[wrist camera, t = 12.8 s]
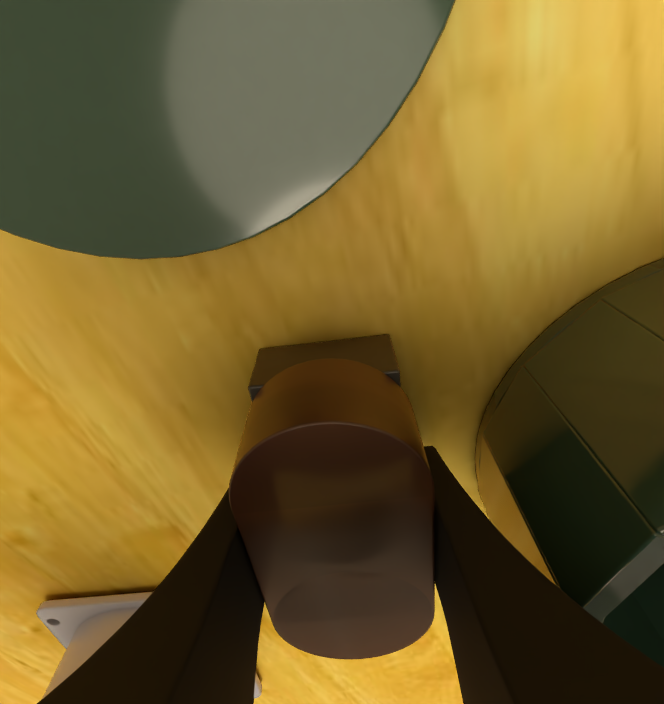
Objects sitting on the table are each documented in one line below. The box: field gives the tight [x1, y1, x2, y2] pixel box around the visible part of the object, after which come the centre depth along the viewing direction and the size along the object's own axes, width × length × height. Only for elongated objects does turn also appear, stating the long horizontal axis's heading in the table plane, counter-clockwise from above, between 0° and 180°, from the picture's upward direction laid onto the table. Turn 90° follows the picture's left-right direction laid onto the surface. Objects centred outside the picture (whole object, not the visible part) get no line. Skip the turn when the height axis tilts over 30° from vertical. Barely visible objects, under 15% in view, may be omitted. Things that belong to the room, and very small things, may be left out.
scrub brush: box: [229, 335, 435, 659], centre depth 12 cm, size 9×4×4 cm, turn 7°
